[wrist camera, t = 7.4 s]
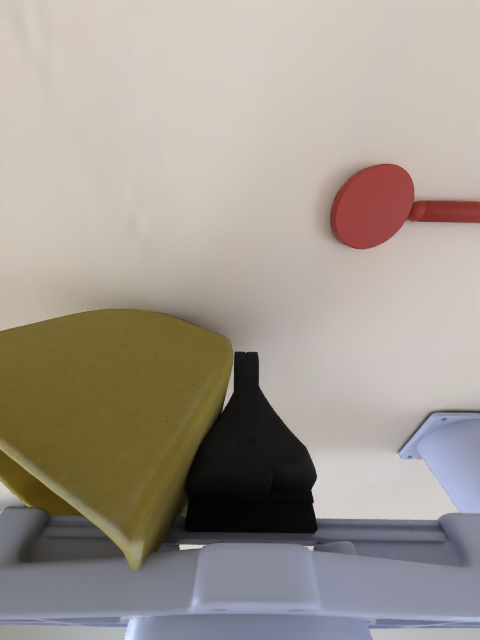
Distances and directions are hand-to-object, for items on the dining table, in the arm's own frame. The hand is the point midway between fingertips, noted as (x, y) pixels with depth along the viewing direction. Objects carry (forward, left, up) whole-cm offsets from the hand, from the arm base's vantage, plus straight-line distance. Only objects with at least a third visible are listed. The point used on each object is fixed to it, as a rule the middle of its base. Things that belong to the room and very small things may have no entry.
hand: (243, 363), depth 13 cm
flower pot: (+3, 0, -1) cm, 4 cm away
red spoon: (-10, -9, -2) cm, 14 cm away
